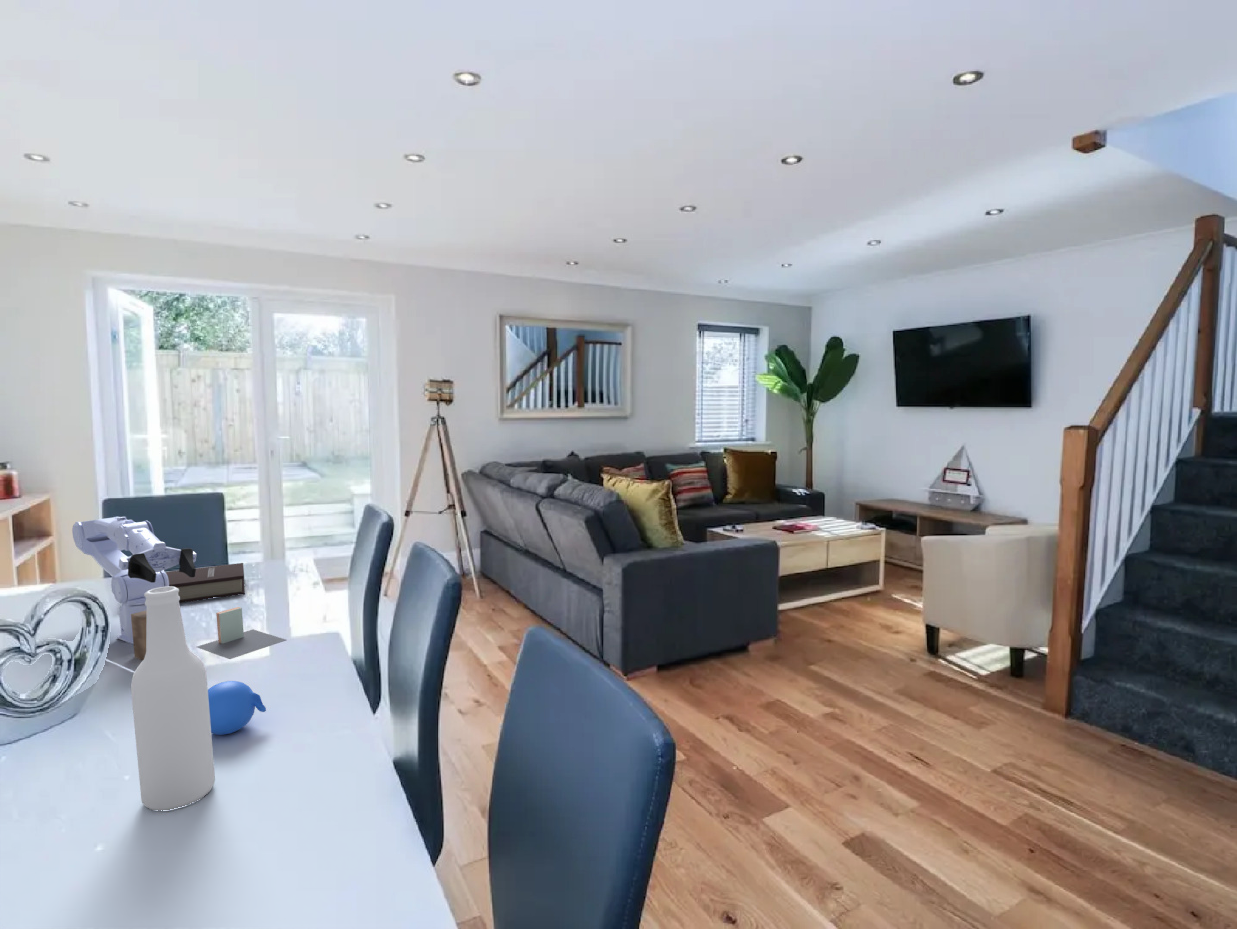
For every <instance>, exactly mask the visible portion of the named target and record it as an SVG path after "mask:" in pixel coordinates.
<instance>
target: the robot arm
mask: <svg viewBox="0 0 1237 929" xmlns="http://www.w3.org/2000/svg"><path fill="white" fill-rule="evenodd" d="M71 531H72V539H73V542H74V544H75V546H76V548H77V549H78V550H80V552H82V553H83V554H85V555H87V556H91V557H92V558H93V559H94V561H95V562H96V563H97V564H98V565H99V567H101V568H102V569H103V570H104V571H105V572H106V573H107V574H109V575H110V576H111V577H112V578H111V582H110V586H111V587H110V588H111V593H112V594H113V596H114V599H115V600H116V602H117V603H119V604H120V605H121V606H120V607H119V611H118V616H119V624H120V635H117V636H116V639H119V640H121V641H123V642H125V643H129V644H132V645H134V644H133V633H132V622H131V614H134V613H138V612H142V611H146V610H147V606H146V605H145V601H146V597H145V596H144V594H145V593H146V592H147V591H149V590H151V589H155V588H160V587H169V579H168V576H167V574H166V572H167V571H166V570H168V569H170V568H172V567H176V566H177V565H179V567H178V568H179V569H178V570H179V572H183V573H185V574H187V575H188V576H189V577H195V572H196V566H195V562H197V554H198V553H196V552H195V551H194V550H193V549H192V548H190V547H188V548H181V549H179V548H174V547H170V546H166V545H167V544H166V542H164V541H161V540H160V538H158V537H157V536H156V535H155V532H154V528H153V525H152V523H151V522H150V521H148V520H143V521H137V522H135V521H134V520H133V519H127V516H113V517H107V518H98V519H92V520H91V519H90V520H83V521H75V522H74V523H73V526H72V530H71ZM122 551H126V552H127V551H128V552H130V553H131V554H132V555H130V556H128V555H126V554H124V552H122Z"/></svg>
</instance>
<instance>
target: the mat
mask: <svg viewBox="0 0 1237 929" xmlns="http://www.w3.org/2000/svg"><path fill="white" fill-rule="evenodd" d="M285 641H287V639H286V638H282V637H278V636H276V635H272V634H271V633H270V634H269V633H266V632H263V631H259V630H256V629H249V630H246V631H244V637H242V638H239V639H236V640H232V641H229V642H226V643H223V644H221V643H219V641H218V639H217V640H214V641H210V642H208V643H204V644H202V645H198V646H196V648H198V649H200V650H201V649H202V650H203V651H207V652H209V653H212V654H215V655H217V656H220V657H222V658H226V659H227V660H228V659H229V660H231V659H234V658H237V657H240V656H244V655H247V654H249V653H252V652H255V651H258V650H262V649H264V648H267V647H270V646H273V645H276V644H279V643H282V642H285Z"/></svg>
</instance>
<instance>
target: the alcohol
mask: <svg viewBox="0 0 1237 929" xmlns="http://www.w3.org/2000/svg"><path fill="white" fill-rule="evenodd" d="M178 592H179V589H178V588H176V587H172V586H169V587H160V588H155V589H151V590H149V591H147V592H146V593H145V594H144V596H145V597H146V601H145V605H146V606H147V623H146V654H145V658H144V660H141V662H140V664H138V666H137V668H136V669H135V671H134V672H133V675H132V678H131V685H130V692H131V693H130V694H131V706H132V715H133V726H134V735H135V747H136V757H137V767H138V768H137V769H138V778H139V779H138V781H139V788H140V791H139V792H140V800H141V803H142V805H144V807H146V808H147V809H148V808H149V809H148V810H150V809H152V810H158V811H161V810H162V811H163V810H170V809H174V808H178V807H182V806H185V805H188V804H190V803H192V802H195V801H197V800H199V799H201V798H202V797H203V798H205V797H206V796H207V795H208V792H209V793H210V791H211V790H212V788H213V786H214V785H215V782H216V775H215V763H214V749H213V740H212V739H213V736H212V733H211V724H210V711H209V699H208V689H209V688H208V678H207V669H206V667H205V664H204V662H203V659H201V658H200V656H198V655H197V654H195V653H194V652H193V651H191V650H190V648H189V646H188V644H187V640H186V632H185V626H184V622H183V618H182V617H183V616H182V611H181V607H180V603H179V600H180V596H178ZM206 794H207V795H206ZM205 795H206V796H205ZM204 796H205V797H204ZM203 798H202V799H203ZM202 799H201V800H202ZM199 801H200V800H199ZM197 802H198V801H197ZM195 803H196V802H195ZM152 810H151V811H152Z"/></svg>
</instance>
